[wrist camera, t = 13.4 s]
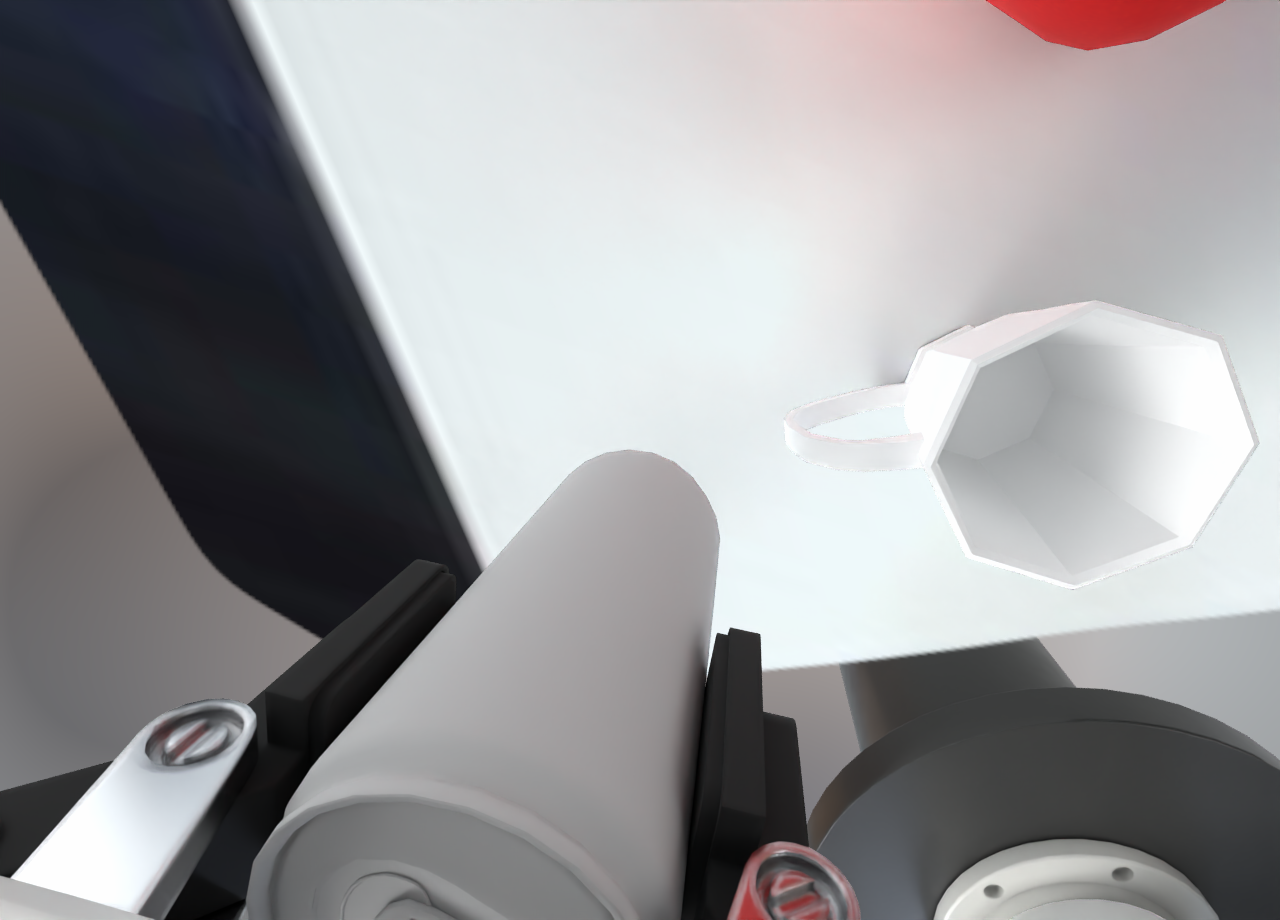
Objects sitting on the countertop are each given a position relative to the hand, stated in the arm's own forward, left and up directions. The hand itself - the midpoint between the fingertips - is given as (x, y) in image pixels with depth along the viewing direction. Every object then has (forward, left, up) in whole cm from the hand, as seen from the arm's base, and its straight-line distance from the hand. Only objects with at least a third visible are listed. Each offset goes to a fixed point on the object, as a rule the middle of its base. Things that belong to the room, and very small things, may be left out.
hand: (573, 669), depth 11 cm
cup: (+4, -9, -14) cm, 17 cm away
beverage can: (0, 0, -7) cm, 7 cm away
